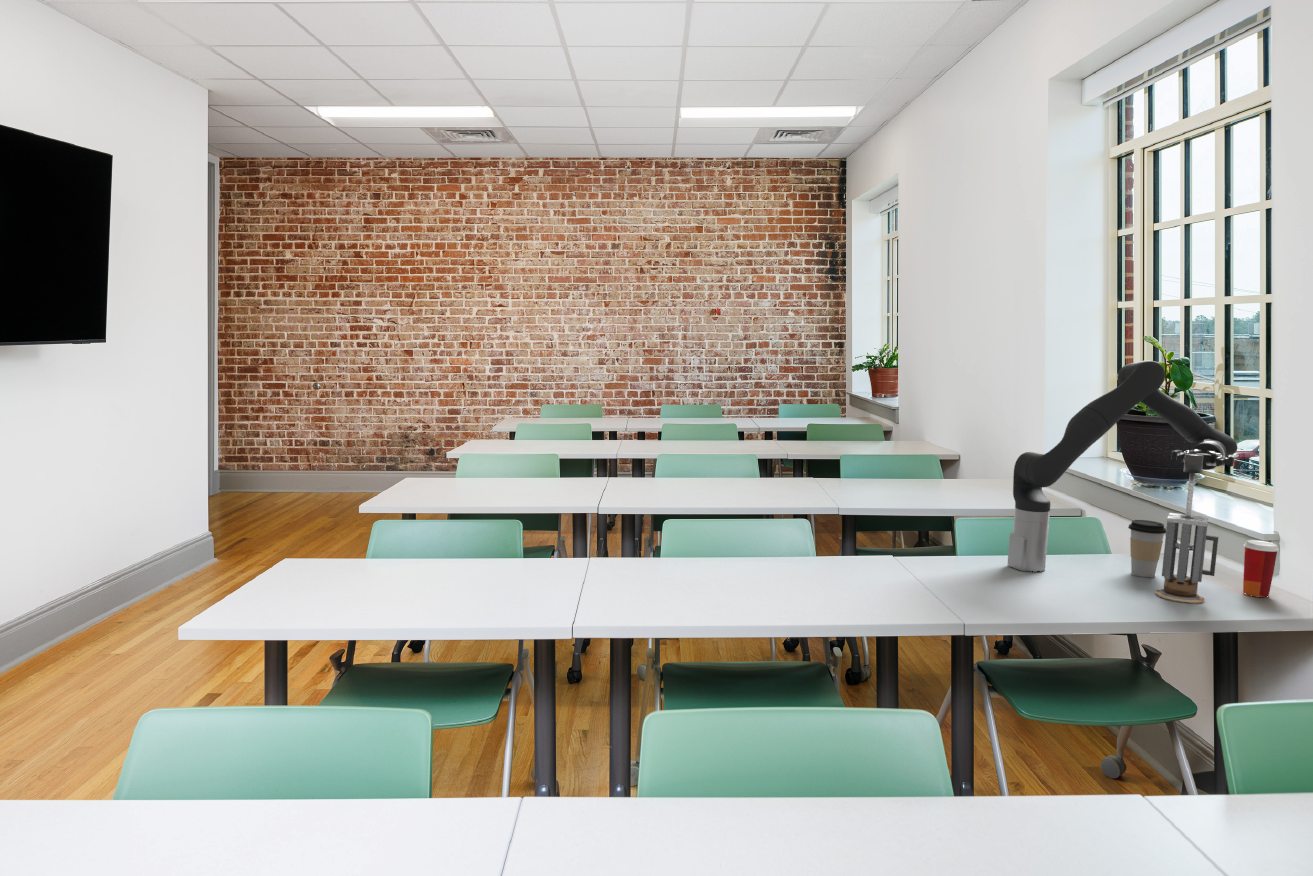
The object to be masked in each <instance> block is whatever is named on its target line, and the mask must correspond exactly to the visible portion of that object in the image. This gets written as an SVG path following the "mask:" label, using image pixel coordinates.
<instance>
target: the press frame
mask: <svg viewBox="0 0 1313 876" xmlns="http://www.w3.org/2000/svg"><path fill="white" fill-rule="evenodd" d="M1185 514H1186V513H1185ZM1185 514H1183V513H1174V512H1169V514H1168V515H1167V518H1166V528H1165V529H1166V533H1165V538H1164V539H1165V540H1164V549H1163V558H1162V559H1163V560H1162V570H1161V577H1164V582H1163V583H1164V584H1163V588H1158V589H1156V590H1155V591H1154V593H1155V596H1157V597H1159V598H1161V599H1164V600H1166V601H1170V602H1176V603H1182V604H1190V605H1191V604H1192V605H1193V604H1197V605H1198V604H1203V603H1204V602H1205V600H1206V598H1205V597H1204V596H1203V595H1201V594H1199V593H1198V588H1199V587H1198V585H1199V583H1202V581H1203V575H1205V576H1212V577H1215V573H1216V572H1215V571H1216V565H1217V556H1218V555H1217V554H1218V544H1219V536H1216V535H1207V534H1208V533H1207V532H1208V525H1209V523H1208V522H1209V517H1208V516H1200V515H1194V514H1193V515H1192V514H1191V519H1187V518H1185ZM1180 524H1181V530H1180V532H1181V533H1180V541H1179V542H1180V549H1178V550H1179V551H1178V562H1177V570H1176V574H1175V564H1176V554H1177V548H1175V543H1176V542H1178V535H1179V527H1180ZM1193 526H1194V527H1195V529H1194V530H1195V531H1194V538H1193V544H1194V546H1193V551H1192V556H1191V567H1190V576H1188V566H1189V555H1190V550H1188V545H1189V543H1191V539H1192V537H1191V536H1192V528H1193ZM1207 541H1210V542H1211V541H1212V548H1211V549H1212V551H1211V559H1210V568H1209V570H1208V569H1204V562H1205V552H1206V546H1207V545H1206V544H1207Z"/></svg>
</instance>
